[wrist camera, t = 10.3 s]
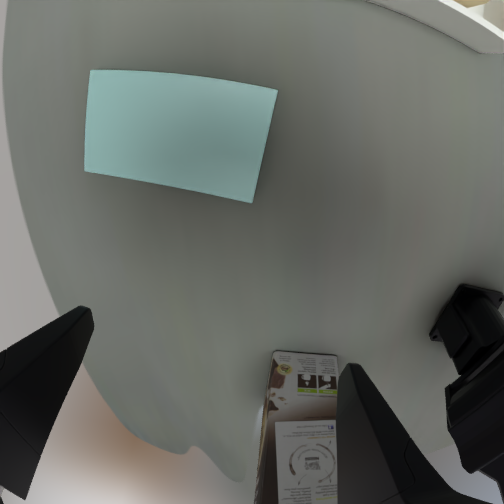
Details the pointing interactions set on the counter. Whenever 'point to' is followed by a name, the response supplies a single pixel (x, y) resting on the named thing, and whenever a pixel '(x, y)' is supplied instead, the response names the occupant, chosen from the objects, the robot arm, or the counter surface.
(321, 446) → the coffee box
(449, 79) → the counter surface
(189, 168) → the lid
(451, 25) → the tub
